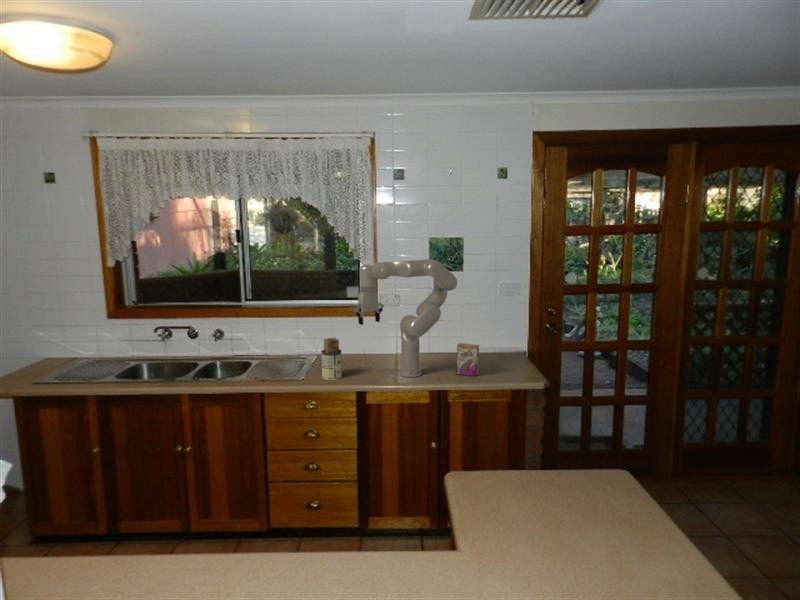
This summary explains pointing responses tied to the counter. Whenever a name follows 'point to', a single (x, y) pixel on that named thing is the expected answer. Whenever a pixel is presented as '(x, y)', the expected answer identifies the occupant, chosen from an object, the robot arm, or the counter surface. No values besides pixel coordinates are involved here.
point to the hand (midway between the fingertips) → (369, 323)
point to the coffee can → (331, 365)
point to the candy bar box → (467, 359)
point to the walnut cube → (331, 345)
